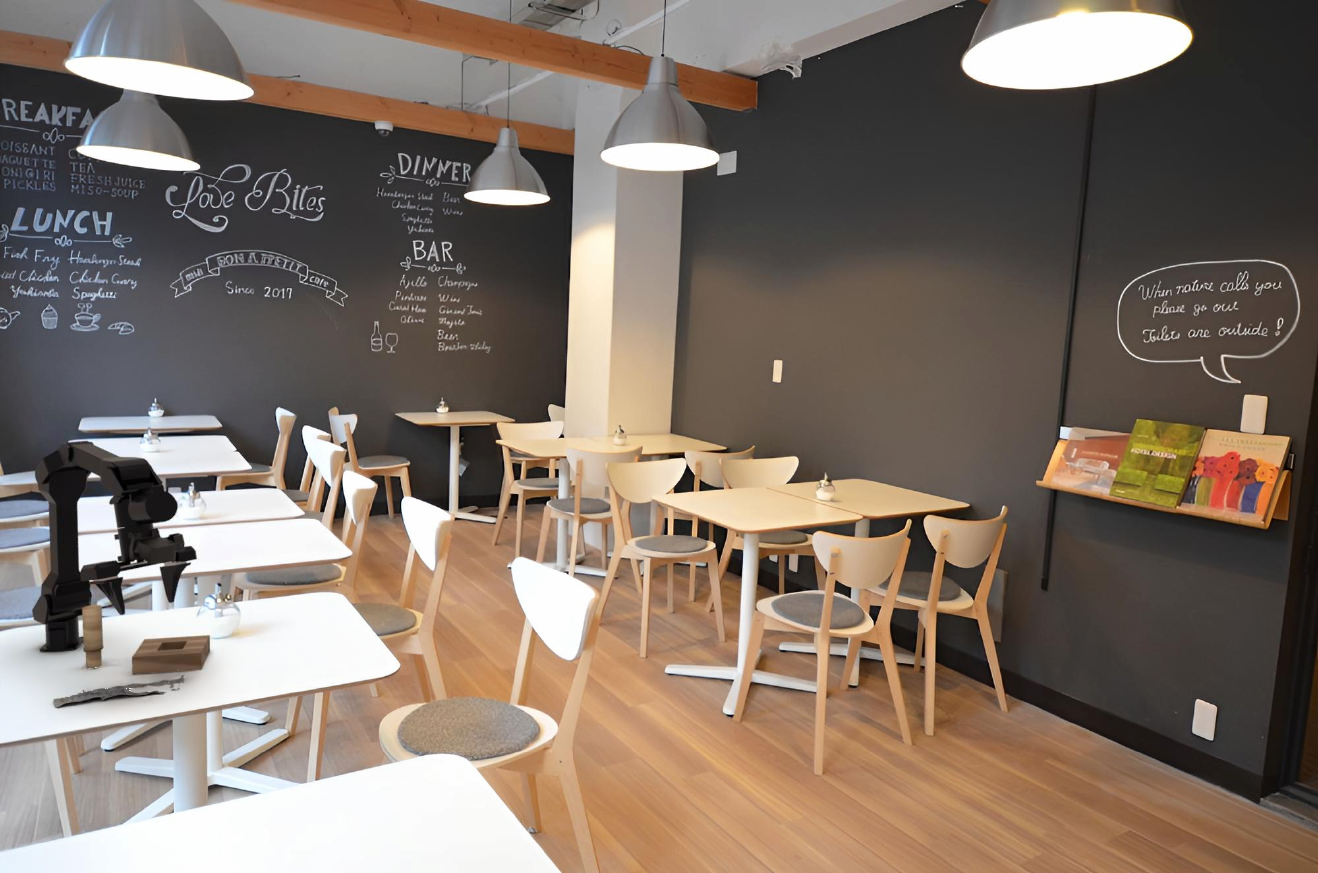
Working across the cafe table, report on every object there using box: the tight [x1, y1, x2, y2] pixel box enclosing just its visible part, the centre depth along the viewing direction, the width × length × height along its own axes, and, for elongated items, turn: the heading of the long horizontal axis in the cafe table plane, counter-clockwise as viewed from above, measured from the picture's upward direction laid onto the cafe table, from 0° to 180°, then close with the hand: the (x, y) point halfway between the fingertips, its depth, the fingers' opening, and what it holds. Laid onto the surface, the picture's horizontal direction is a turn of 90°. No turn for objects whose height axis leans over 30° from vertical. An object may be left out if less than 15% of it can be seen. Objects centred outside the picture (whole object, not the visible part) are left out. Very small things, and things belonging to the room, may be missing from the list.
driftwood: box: [53, 674, 186, 708], centre depth 158 cm, size 21×7×2 cm, turn 117°
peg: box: [81, 604, 104, 669], centre depth 169 cm, size 3×3×12 cm
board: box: [131, 634, 211, 675], centre depth 173 cm, size 10×12×4 cm
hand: (147, 608), depth 160 cm, fingers open, 9 cm apart
